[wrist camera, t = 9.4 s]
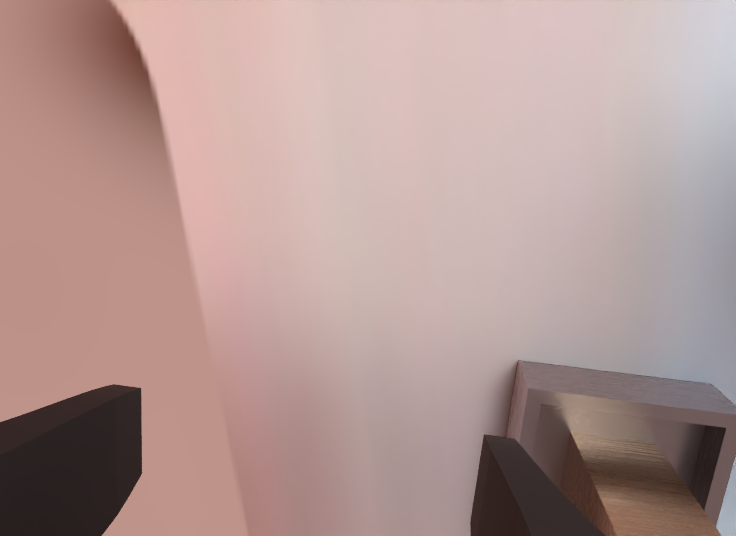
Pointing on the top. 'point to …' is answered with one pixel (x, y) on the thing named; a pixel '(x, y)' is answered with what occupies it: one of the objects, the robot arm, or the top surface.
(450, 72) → the top surface
